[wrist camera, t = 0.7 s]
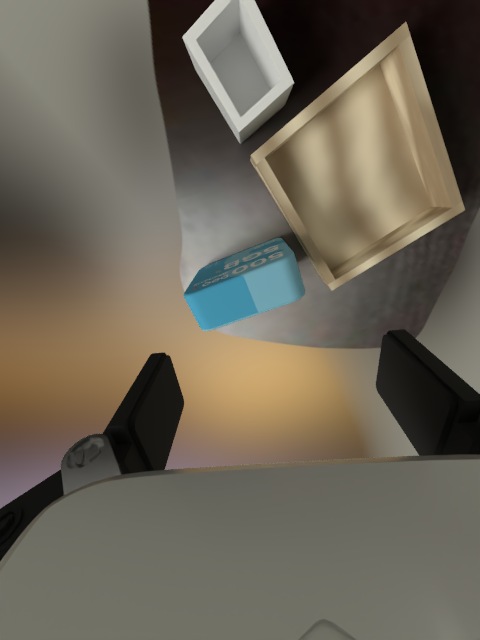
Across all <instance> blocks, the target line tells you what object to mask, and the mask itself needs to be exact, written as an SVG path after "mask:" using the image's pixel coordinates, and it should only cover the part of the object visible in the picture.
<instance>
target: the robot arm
mask: <svg viewBox="0 0 480 640" xmlns="http://www.w3.org/2000/svg"><path fill="white" fill-rule="evenodd" d="M376 388H377V391H378V393H379V394H380V396H381V398H382V399H383V401H384V402H385V404H386V405H387V406H388V408H389V410H390V411H391V413H392V414H393V416H394V417H395V419H396V420H397V422H398V423H399V425H400V426H401V428H402V429H403V431H404V433H405V434H406V436H407V437H408V439H409V440H410V442H411V443H412V445H413V446H414V448H415V449H416V451H417V452H418V454H419V456H402V457H383V458H362V459H341V460H322V461H304V462H286V463H267V464H249V465H234V466H216V467H200V468H185V469H171V470H164V469H165V466H166V463H167V460H168V456H169V453H170V450H171V446H172V443H173V440H174V437H175V433H176V430H177V427H178V423H179V420H180V417H181V414H182V410H183V407H184V399H183V396H182V393H181V390H180V386H179V383H178V380H177V377H176V374H175V370H174V367H173V364H172V361H171V358H170V356H168V355H166V354H165V353H154V354H151V355H150V357H149V358H148V360H147V362H146V363H145V365H144V366H143V368H142V370H141V371H140V373H139V375H138V376H137V378H136V380H135V382H134V383H133V385H132V386H131V388H130V390H129V391H128V393H127V395H126V396H125V398H124V400H123V401H122V403H121V405H120V406H119V408H118V409H117V411H116V413H115V414H114V416H113V418H112V419H111V421H110V423H109V424H108V426H107V427H106V429H105V431H104V432H103V434H92V435H89V436H87V437H84V438H82V439H81V440H79V441H78V442H76V443H75V444H74V445H73V446H72V447H71V448H69V450H68V451H67V452H66V454H65V455H64V457H63V459H62V461H61V470H59V471H58V472H56V473H55V474H53V475H52V476H50V477H48V478H47V479H45V480H44V481H42V482H41V483H39V484H38V485H36V486H35V487H33V488H32V489H30V490H28V491H27V492H25V493H24V494H23V495H21V496H19V497H18V498H16V499H15V500H13V501H12V502H10V503H9V504H7V505H5V506H4V507H2V508H1V509H0V640H480V394H478V393H477V392H476V391H475V390H474V389H473V388H472V387H470V386H469V385H468V384H467V383H466V382H465V381H464V380H463V379H461V378H460V377H459V376H458V375H457V374H456V373H454V372H453V371H452V370H451V369H450V368H449V367H448V366H446V365H445V364H444V363H443V362H442V361H441V360H439V359H438V358H437V357H436V356H435V355H434V354H432V353H431V352H430V351H429V350H428V349H427V348H426V347H424V346H423V345H422V344H421V343H419V341H417V340H416V339H415V338H414V337H413V336H412V335H411V334H409V333H408V332H407V331H406V330H403V329H402V330H392V331H388V332H387V334H386V335H384V336H383V339H382V345H381V353H380V359H379V366H378V373H377V381H376Z"/></svg>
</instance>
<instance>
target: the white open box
mask: <svg viewBox="0 0 480 640" xmlns="http://www.w3.org/2000/svg"><path fill="white" fill-rule="evenodd" d="M182 38H183V40H184V43H185V45H186V47H187V50H188V52H189V55H190V57H191V60H192V62H193V65H194V67H195V70H196V71H197V73H198V75H199V76H200V78H201V80H202V81H203V83H204V85H205V86H206V88H207V90H208V91H209V93H210V95H211V96H212V98H213V100H214V101H215V103H216V105H217V106H218V108H219V110H220V111H221V113H222V115H223V116H224V118H225V120H226V121H227V123H228V125H229V126H230V128H231V129H232V131H233V133H234V134H235V136H236V138H237V139H238V141H239V143H240V144H242V143H243V142H244V141H245V140H246V139H247V138H248V137H250V136H251V135H252V134H253V133H254V132H255V131H256V130H257V129H259V128H260V127H261V126H262V125H263V124H264V123H265V122H266V121H268V120H269V119H270V118H271V117H272V116H273V115H274V114H275V113H277V112H278V111H279V110H280V109H281V108H282V107H283V106H284V105H285V104H286V101H287V99H288V96H289V94H290V91H291V89H292V87H293V84H294V81H293V79H292V77H291V75H290V73H289V70H288V68H287V66H286V64H285V62H284V60H283V58H282V56H281V54H280V52H279V50H278V48H277V46H276V44H275V42H274V39H273V37H272V35H271V33H270V31H269V29H268V27H267V25H266V23H265V21H264V19H263V17H262V15H261V13H260V11H259V9H258V6H257V4H256V2H255V0H215V1H214V2H213V3H212V4H211V5H210V6H209V8H208V9H207V10H206V11H205V12H204V13H203V14H202V15H201V17H200V18H199V19H198V20H197V21H196V22H195V23H194V24H193V26H192V27H191V28H190V29H189V30H188V31H187V32H186V34H185V35H184V36H183V37H182Z"/></svg>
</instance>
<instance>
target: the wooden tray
mask: <svg viewBox="0 0 480 640" xmlns="http://www.w3.org/2000/svg"><path fill="white" fill-rule="evenodd" d="M250 161H251V163H252V164H253V166H254V168H255V169H256V171H257V173H258V174H259V176H260V178H261V179H262V181H263V183H264V184H265V186H266V187H267V189H268V191H269V192H270V194H271V196H272V197H273V199H274V201H275V202H276V204H277V206H278V207H279V209H280V211H281V212H282V214H283V216H284V217H285V219H286V221H287V222H288V224H289V226H290V227H291V229H292V231H293V232H294V234H295V236H296V237H297V239H298V241H299V242H300V244H301V245H302V247H303V249H304V250H305V252H306V254H307V255H308V257H309V259H310V260H311V262H312V264H313V265H314V267H315V269H316V270H317V272H318V274H319V275H320V277H321V279H322V280H323V281H324V282H325V284H326V285H327V286H328V287H329V288H330V289H331V290H334V289H335V288H337V287H339V286H340V285H342V284H344V283H345V282H347V281H348V280H350V279H352V278H353V277H355V276H357V275H358V274H360V273H362V272H363V271H365V270H367V269H368V268H370V267H372V266H373V265H375V264H377V263H378V262H380V261H382V260H383V259H385V258H386V257H388V256H390V255H391V254H393V253H395V252H396V251H398V250H400V249H401V248H403V247H405V246H406V245H408V244H410V243H411V242H413V241H415V240H416V239H418V238H419V237H421V236H423V235H424V234H426V233H428V232H429V231H431V230H433V229H434V228H436V227H438V226H439V225H441V224H443V223H444V222H446V221H448V220H449V219H451V218H453V217H454V216H456V215H457V214H459V213H461V212H462V211H464V210H465V208H464V205H463V202H462V199H461V195H460V192H459V189H458V186H457V183H456V179H455V176H454V173H453V170H452V167H451V163H450V160H449V157H448V154H447V151H446V147H445V144H444V141H443V138H442V135H441V131H440V128H439V125H438V122H437V119H436V115H435V112H434V109H433V106H432V103H431V99H430V96H429V93H428V90H427V87H426V83H425V80H424V77H423V74H422V71H421V67H420V64H419V61H418V58H417V55H416V51H415V48H414V45H413V42H412V39H411V35H410V32H409V29H408V26H407V23H406V22H405V23H404V24H403V25H402V26H401V27H399V28H398V29H397V30H396V31H395V32H394V33H392V34H391V35H390V36H389V37H388V38H387V39H385V40H384V41H383V42H382V43H381V44H380V45H378V46H377V47H376V48H375V49H374V50H373V51H371V52H370V53H369V54H368V55H367V56H366V57H365V58H363V59H362V60H361V61H360V62H359V63H358V64H356V65H355V66H354V67H353V68H352V69H351V70H349V71H348V72H347V73H346V74H345V75H344V76H342V77H341V78H340V79H339V80H338V81H337V82H335V83H334V84H333V85H332V86H331V87H330V88H328V89H327V90H326V91H325V92H324V93H323V94H321V95H320V96H319V97H318V98H317V99H316V100H314V101H313V102H312V103H311V104H310V105H309V106H307V107H306V108H305V109H304V110H303V111H302V112H301V113H299V114H298V115H297V116H296V117H295V118H294V119H292V120H291V121H290V122H289V123H288V124H287V125H285V126H284V127H283V128H282V129H281V130H280V131H278V132H277V133H276V134H275V135H274V136H273V137H271V138H270V139H269V140H268V141H267V142H266V143H264V144H263V145H262V146H261V147H260V148H259V149H257V150H256V151H255V152H254V153H253V154H252V155H251V160H250Z"/></svg>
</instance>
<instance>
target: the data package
mask: <svg viewBox="0 0 480 640" xmlns="http://www.w3.org/2000/svg"><path fill="white" fill-rule="evenodd" d="M304 294H305V288H304V285H303V281H302V278H301V275H300V271H299V268H298V265H297V261H296V258H295V255H294V252H293V251H292V250H291V249H290V247H289V246H288V245H287V244H286V243H285V242H284V240H283V239H282V238H275V239H272V240H269V241H267V242H264V243H262V244H259V245H257V246H254V247H252V248H249V249H247V250H244V251H242V252H239V253H237V254H234V255H232V256H229V257H227V258H224V259H222V260H219V261H217V262H214V263H212V264H209V265H207V266H205V267H203V268H202V269H200V270H199V271H198V273H197V274H196V276H195V277H194V279H193V281H192V282H191V284H190V285H189V287H188V288H187V290H186V291H185V293H184V298H185V300H186V302H187V303H188V305H189V307H190V309H191V311H192V313H193V315H194V316H195V319H196V320H197V322H198V324H199V326H200V328H201V329H202V330H204V331H210V330H214V329H217V328H220V327H222V326H225V325H228V324H231V323H234V322H237V321H240V320H243V319H246V318H248V317H251V316H254V315H257V314H260V313H263V312H266V311H269V310H272V309H275V308H277V307H280V306H283V305H286V304H289V303H292V302H294V301H297V300H298V299H300V298H301V297H302V296H303V295H304Z"/></svg>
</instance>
